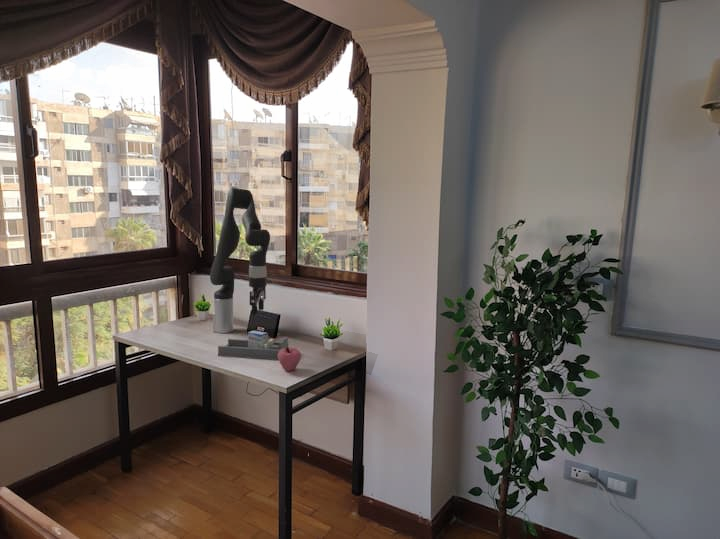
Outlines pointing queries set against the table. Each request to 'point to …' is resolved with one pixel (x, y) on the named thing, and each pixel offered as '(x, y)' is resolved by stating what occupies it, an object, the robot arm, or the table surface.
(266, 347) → the pusher
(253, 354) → the lane
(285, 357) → the apple
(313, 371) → the table surface
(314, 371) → the table surface
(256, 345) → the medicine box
